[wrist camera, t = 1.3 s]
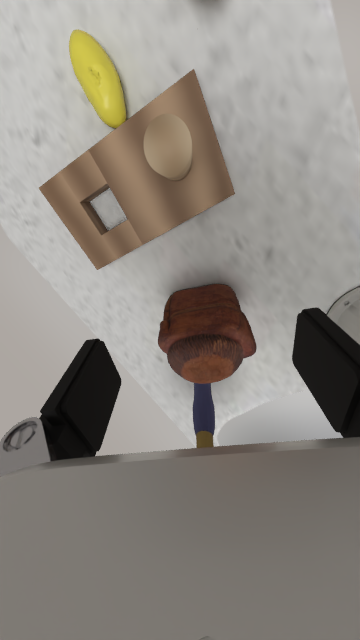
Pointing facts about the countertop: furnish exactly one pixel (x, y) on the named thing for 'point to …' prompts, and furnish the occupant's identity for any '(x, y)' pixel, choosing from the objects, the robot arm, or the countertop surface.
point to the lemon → (97, 78)
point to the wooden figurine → (205, 333)
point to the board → (140, 179)
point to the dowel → (168, 147)
